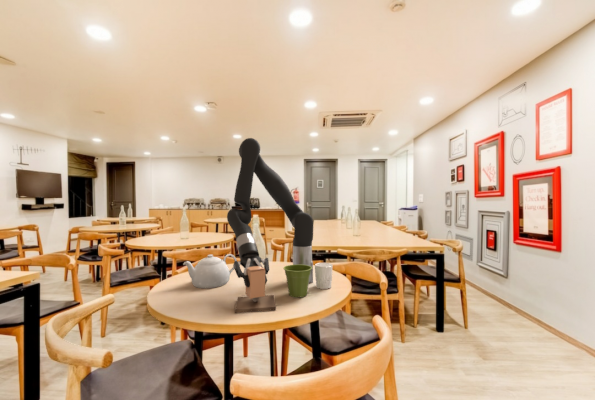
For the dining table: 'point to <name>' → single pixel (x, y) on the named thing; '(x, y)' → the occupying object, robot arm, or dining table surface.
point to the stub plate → (255, 304)
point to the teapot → (209, 272)
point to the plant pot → (297, 279)
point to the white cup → (323, 275)
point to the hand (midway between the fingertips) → (256, 284)
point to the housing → (256, 282)
